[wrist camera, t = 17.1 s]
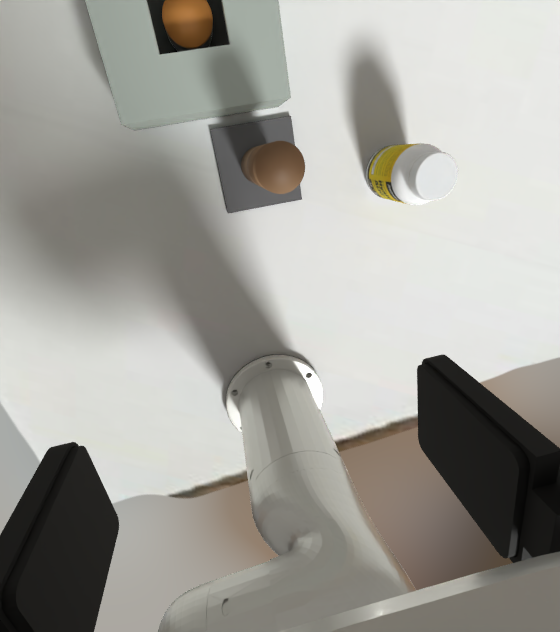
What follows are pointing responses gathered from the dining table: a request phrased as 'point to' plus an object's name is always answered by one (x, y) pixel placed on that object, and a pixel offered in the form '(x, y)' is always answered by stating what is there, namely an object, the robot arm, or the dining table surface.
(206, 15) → the orange dome button
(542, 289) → the dining table surface
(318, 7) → the dining table surface
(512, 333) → the dining table surface
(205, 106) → the grey square block
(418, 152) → the supplement bottle
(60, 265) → the dining table surface
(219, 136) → the pad
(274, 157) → the dowel
